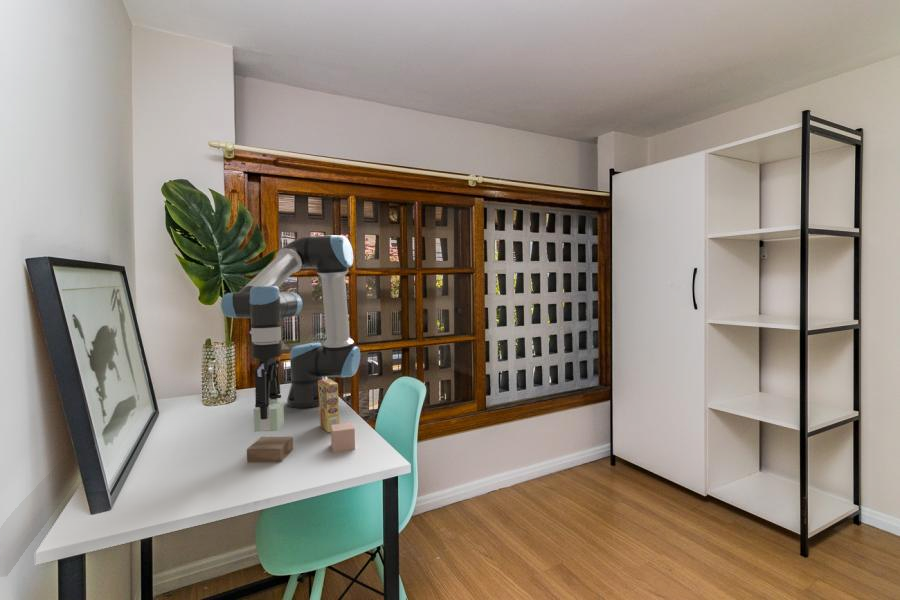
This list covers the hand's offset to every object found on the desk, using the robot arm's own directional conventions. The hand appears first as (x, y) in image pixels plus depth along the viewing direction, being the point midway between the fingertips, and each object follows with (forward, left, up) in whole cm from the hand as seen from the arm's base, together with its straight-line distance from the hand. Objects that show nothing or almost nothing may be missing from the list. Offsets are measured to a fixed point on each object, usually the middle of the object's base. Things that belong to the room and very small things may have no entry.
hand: (269, 425), depth 122 cm
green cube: (0, 0, 0) cm, 0 cm away
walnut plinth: (0, 0, -9) cm, 9 cm away
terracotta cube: (-4, +19, -8) cm, 21 cm away
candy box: (-21, +12, -9) cm, 26 cm away
